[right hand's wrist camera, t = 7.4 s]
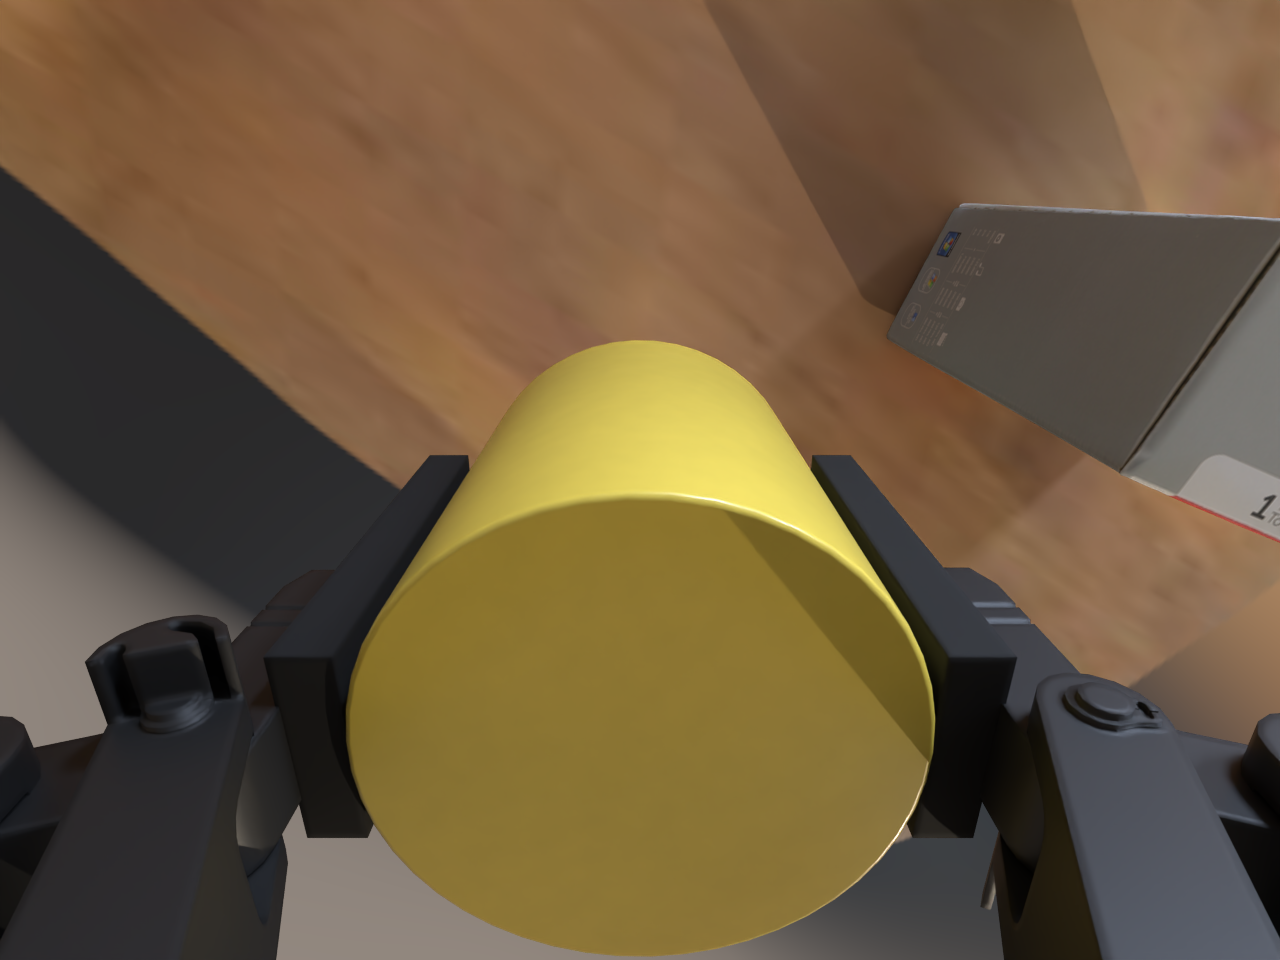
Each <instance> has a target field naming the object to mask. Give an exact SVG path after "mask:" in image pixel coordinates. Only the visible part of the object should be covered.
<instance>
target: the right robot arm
mask: <svg viewBox="0 0 1280 960" xmlns="http://www.w3.org/2000/svg"><path fill="white" fill-rule="evenodd" d="M469 471H470V470H469V460H468V455H430V456H429V457H428V458H427V459H426V461H425V462H424V463H423V464H422V466H421V467H420V468H419V469H418V470H417V472H416V473H415V474H414V475H413V476H412V478H411V479H410V480H409V481H408V482H407V484H406V485H405V486H404V487H403V489H402V490H401V491H400V492H399V493H398V495H397V496H396V497H395V498H394V499H393V501H392V502H391V503H390V504H389V505H388V507H387V508H386V509H385V510H384V512H383V513H382V514H381V515H380V516H379V518H378V519H377V520H376V521H375V522H374V524H373V525H372V526H371V527H370V528H369V530H368V531H367V532H366V533H365V535H364V536H363V537H362V538H361V539H360V541H359V542H358V543H357V544H356V545H355V547H354V548H353V549H352V550H351V551H350V553H349V554H348V555H347V556H346V558H345V559H344V560H343V561H342V562H341V564H340V565H339V566H338V567H337V568H336V570H311V571H309V572H308V573H306V574H304V575H303V576H301V577H299V578H298V579H296V580H294V581H292V582H291V583H289V584H287V585H286V586H284V587H283V588H282V589H281V590H280V591H279V592H278V593H277V594H276V596H275V597H274V598H273V599H272V600H271V601H270V602H269V603H268V604H267V605H266V610H262V611H261V612H260V613H259V614H258V615H257V616H256V617H255V618H254V619H253V620H252V622H251V626H250V627H246V628H245V629H244V630H243V631H242V632H241V633H240V635H239V636H238V637H237V638H236V639H235V640H234V641H233V642H232V643H231V639H230V635H229V631H228V628H227V625H226V624H224V623H223V622H222V621H220V620H219V619H217V618H215V617H208V616H202V615H188V616H176V617H170V618H166V619H162V620H158V621H154V622H150V623H146V624H144V625H141V626H139V627H136V628H134V629H131V630H129V631H126V632H124V633H122V634H120V635H118V636H116V637H115V638H113V639H112V640H110V641H108V642H107V643H105V644H103V645H102V646H100V647H99V648H98V649H97V650H96V651H95V652H94V653H93V654H92V655H91V656H90V657H89V658H88V659H87V660H86V661H85V664H86V666H87V669H88V672H89V675H90V677H91V680H92V683H93V686H94V688H95V691H96V694H97V697H98V700H99V702H100V705H101V708H102V711H103V713H104V716H105V719H106V722H107V724H108V725H107V727H106V729H105V731H104V733H103V734H98V735H94V736H89V737H84V738H79V739H74V740H69V741H65V742H60V743H55V744H50V745H45V746H40V747H36V748H33V745H32V743H31V740H30V738H29V736H28V733H27V731H26V728H25V726H24V724H22V723H21V722H19V721H18V720H16V719H14V718H13V717H4V716H0V960H276V956H277V948H278V940H279V932H280V923H281V915H282V907H283V899H284V891H285V882H286V874H287V866H288V861H287V854H286V848H285V844H284V840H283V836H282V833H283V831H284V830H285V828H286V826H287V824H288V823H289V821H290V819H291V817H292V816H293V814H294V812H295V810H296V809H297V807H298V805H299V806H300V810H301V814H302V818H303V822H304V826H305V830H306V834H307V838H368V836H369V833H370V831H371V829H372V827H373V824H374V823H373V821H372V820H371V818H370V816H369V814H368V812H367V810H366V808H365V806H364V804H363V802H362V800H361V798H360V795H359V792H358V789H357V786H356V783H355V780H354V778H353V775H352V772H351V766H350V761H349V755H348V749H347V743H346V703H347V697H348V691H349V685H350V679H351V674H352V671H353V669H354V666H355V663H356V660H357V657H358V654H359V651H360V648H361V646H362V643H363V642H364V640H365V638H366V636H367V634H368V632H369V631H370V629H371V627H372V625H373V623H374V621H375V620H376V618H377V616H378V614H379V613H380V611H381V609H382V608H383V606H384V605H385V603H386V602H387V600H388V598H389V597H390V595H391V594H392V592H393V591H394V589H395V587H396V586H397V584H398V583H399V581H400V579H401V578H402V576H403V575H404V573H405V572H406V570H407V568H408V567H409V565H410V564H411V562H412V561H413V559H414V557H415V556H416V554H417V553H418V551H419V549H420V548H421V546H422V545H423V543H424V542H425V540H426V538H427V537H428V535H429V534H430V532H431V531H432V529H433V527H434V526H435V524H436V523H437V521H438V519H439V518H440V516H441V515H442V513H443V512H444V510H445V508H446V507H447V505H448V504H449V502H450V501H451V499H452V497H453V496H454V494H455V493H456V491H457V489H458V488H459V486H460V485H461V483H462V482H463V480H464V478H465V477H466V475H467V474H468V472H469ZM811 472H812V473H813V475H814V476H815V478H816V480H817V481H818V483H819V484H820V486H821V487H822V489H823V491H824V492H825V494H826V495H827V497H828V498H829V500H830V502H831V503H832V505H833V506H834V508H835V509H836V511H837V513H838V514H839V516H840V517H841V519H842V521H843V522H844V524H845V525H846V527H847V528H848V530H849V532H850V533H851V535H852V536H853V538H854V539H855V541H856V543H857V544H858V546H859V547H860V549H861V550H862V552H863V554H864V555H865V557H866V558H867V560H868V562H869V563H870V565H871V566H872V568H873V569H874V571H875V573H876V574H877V576H878V577H879V579H880V580H881V582H882V584H883V585H884V587H885V588H886V590H887V591H888V593H889V595H890V596H891V598H892V599H893V601H894V603H895V604H896V606H897V607H898V609H899V610H900V612H901V614H902V615H903V617H904V618H905V620H906V621H907V623H908V625H909V626H910V629H911V631H912V633H913V635H914V637H915V639H916V641H917V643H918V646H919V648H920V650H921V652H922V654H923V656H924V660H925V664H926V667H927V671H928V674H929V678H930V681H931V685H932V692H933V701H934V711H935V731H934V746H933V755H932V759H931V763H930V768H929V772H928V776H927V781H926V783H925V786H924V788H923V791H922V793H921V796H920V798H919V801H918V803H917V806H916V808H915V810H914V812H913V814H912V815H911V817H910V819H909V820H908V822H907V825H908V828H909V830H910V832H911V835H912V837H913V838H973V836H974V832H975V828H976V824H977V820H978V816H979V812H980V808H981V804H982V802H983V804H984V806H985V808H986V809H987V811H988V813H989V815H990V816H991V818H992V820H993V822H994V823H995V825H996V827H997V829H998V830H999V832H998V837H997V840H996V844H995V848H994V851H993V855H992V859H991V863H990V867H989V870H988V874H987V878H986V882H985V886H984V889H983V894H982V901H981V907H983V908H986V909H989V910H990V909H991V906H992V902H993V899H994V895H995V894H996V896H997V905H998V913H999V921H1000V929H1001V938H1002V946H1003V954H1004V960H1280V713H1277V714H1269V715H1267V716H1266V717H1264V718H1263V719H1261V720H1260V721H1258V723H1257V725H1256V728H1255V730H1254V733H1253V735H1252V737H1251V740H1250V742H1249V744H1248V745H1246V744H1241V743H1236V742H1231V741H1226V740H1221V739H1216V738H1212V737H1207V736H1202V735H1197V734H1192V733H1187V732H1183V731H1179V730H1175V728H1174V726H1173V724H1172V723H1171V722H1170V720H1169V719H1168V718H1167V716H1166V715H1165V714H1164V713H1163V711H1162V710H1161V709H1160V708H1159V707H1158V706H1156V705H1155V704H1153V703H1152V702H1151V701H1149V700H1148V699H1146V698H1145V697H1144V696H1142V695H1141V694H1139V693H1138V692H1135V691H1133V690H1131V689H1129V688H1127V687H1125V686H1123V685H1121V684H1118V683H1116V682H1114V681H1110V680H1107V679H1103V678H1100V677H1096V676H1093V675H1088V674H1080V673H1079V672H1078V670H1077V669H1076V668H1075V667H1074V666H1073V665H1072V664H1071V663H1070V662H1069V661H1068V660H1067V659H1066V658H1065V657H1064V655H1063V654H1062V653H1061V652H1060V651H1059V650H1058V649H1057V648H1056V647H1055V646H1054V645H1053V644H1052V643H1051V641H1050V640H1049V639H1048V638H1047V637H1046V636H1045V635H1044V634H1043V633H1042V632H1041V631H1040V630H1039V629H1038V628H1037V626H1036V625H1035V624H1031V623H1030V619H1029V618H1028V617H1027V616H1026V615H1025V614H1024V612H1023V611H1022V610H1021V609H1020V608H1016V607H1015V603H1014V602H1013V601H1012V600H1011V599H1010V597H1009V596H1008V595H1007V594H1006V593H1005V592H1004V591H1003V590H1002V589H1001V588H1000V587H999V586H998V585H997V584H996V583H994V582H992V581H991V580H989V579H987V578H986V577H984V576H982V575H980V574H979V573H977V572H975V571H974V570H972V569H970V568H943V567H942V565H941V564H940V563H939V562H938V561H937V559H936V558H935V557H934V556H933V554H932V553H931V552H930V551H929V550H928V548H927V547H926V546H925V545H924V544H923V542H922V541H921V540H920V539H919V538H918V536H917V535H916V534H915V533H914V532H913V530H912V529H911V528H910V527H909V525H908V524H907V523H906V522H905V521H904V519H903V518H902V517H901V516H900V515H899V513H898V512H897V511H896V510H895V509H894V507H893V506H892V505H891V504H890V502H889V501H888V500H887V499H886V498H885V496H884V495H883V494H882V493H881V492H880V490H879V489H878V488H877V487H876V486H875V484H874V483H873V482H872V481H871V479H870V478H869V477H868V476H867V475H866V473H865V472H864V471H863V470H862V469H861V467H860V466H859V465H858V464H857V463H856V461H855V460H854V459H853V458H852V457H851V455H812V465H811Z"/></svg>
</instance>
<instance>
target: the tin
mask: <svg viewBox="0 0 1280 960" xmlns="http://www.w3.org/2000/svg"><path fill="white" fill-rule="evenodd" d="M934 731H935V711H934V701H933V692H932V685H931V681H930V678H929V674H928V671H927V667H926V664H925V660H924V656H923V654H922V652H921V650H920V648H919V646H918V643H917V641H916V639H915V637H914V635H913V633H912V631H911V629H910V626H909V625H908V623H907V621H906V620H905V618H904V617H903V615H902V614H901V612H900V610H899V609H898V607H897V606H896V604H895V603H894V601H893V599H892V598H891V596H890V595H889V593H888V591H887V590H886V588H885V587H884V585H883V584H882V582H881V580H880V579H879V577H878V576H877V574H876V573H875V571H874V569H873V568H872V566H871V565H870V563H869V562H868V560H867V558H866V557H865V555H864V554H863V552H862V550H861V549H860V547H859V546H858V544H857V543H856V541H855V539H854V538H853V536H852V535H851V533H850V532H849V530H848V528H847V527H846V525H845V524H844V522H843V521H842V519H841V517H840V516H839V514H838V513H837V511H836V509H835V508H834V506H833V505H832V503H831V502H830V500H829V498H828V497H827V495H826V494H825V492H824V491H823V489H822V487H821V486H820V484H819V483H818V481H817V480H816V478H815V476H814V475H813V473H812V472H811V470H810V468H809V467H808V465H807V464H806V462H805V461H804V459H803V457H802V456H801V454H800V453H799V451H798V450H797V448H796V446H795V445H794V443H793V442H792V440H791V439H790V437H789V435H788V434H787V432H786V431H785V429H784V427H783V426H782V424H781V423H780V421H779V420H778V418H777V416H776V415H775V413H774V412H773V410H772V409H771V408H770V406H769V405H768V403H767V402H766V400H765V399H764V398H763V396H762V395H761V394H760V393H759V392H758V391H757V390H756V389H755V388H754V387H753V386H752V384H751V383H749V382H748V381H747V380H746V379H745V378H743V377H742V376H741V375H740V374H739V373H737V372H736V371H735V370H733V369H732V368H730V367H729V366H727V365H725V364H724V363H722V362H721V361H719V360H717V359H715V358H713V357H711V356H709V355H706V354H704V353H702V352H700V351H697V350H694V349H691V348H687V347H684V346H681V345H677V344H672V343H665V342H659V341H638V340H632V341H623V342H614V343H608V344H604V345H600V346H596V347H592V348H589V349H586V350H584V351H581V352H579V353H576V354H574V355H571V356H569V357H567V358H565V359H564V360H562V361H560V362H558V363H556V364H555V365H553V366H551V367H550V368H549V369H547V370H546V371H545V372H543V373H542V374H541V375H539V376H538V377H537V378H535V379H534V380H533V381H532V382H531V383H530V384H529V385H528V386H527V387H526V388H525V389H524V390H523V391H522V392H521V393H520V394H519V396H518V397H517V398H516V400H515V401H514V402H513V404H512V405H511V406H510V408H509V409H508V411H507V412H506V414H505V415H504V417H503V418H502V420H501V422H500V423H499V425H498V426H497V428H496V430H495V431H494V433H493V434H492V436H491V437H490V439H489V441H488V442H487V444H486V445H485V447H484V448H483V450H482V452H481V453H480V455H479V456H478V458H477V460H476V461H475V463H474V464H473V466H472V467H471V469H470V471H469V472H468V474H467V475H466V477H465V478H464V480H463V482H462V483H461V485H460V486H459V488H458V489H457V491H456V493H455V494H454V496H453V497H452V499H451V501H450V502H449V504H448V505H447V507H446V508H445V510H444V512H443V513H442V515H441V516H440V518H439V519H438V521H437V523H436V524H435V526H434V527H433V529H432V531H431V532H430V534H429V535H428V537H427V538H426V540H425V542H424V543H423V545H422V546H421V548H420V549H419V551H418V553H417V554H416V556H415V557H414V559H413V561H412V562H411V564H410V565H409V567H408V568H407V570H406V572H405V573H404V575H403V576H402V578H401V579H400V581H399V583H398V584H397V586H396V587H395V589H394V591H393V592H392V594H391V595H390V597H389V598H388V600H387V602H386V603H385V605H384V606H383V608H382V609H381V611H380V613H379V614H378V616H377V618H376V620H375V621H374V623H373V625H372V627H371V629H370V631H369V632H368V634H367V636H366V638H365V640H364V642H363V643H362V646H361V648H360V651H359V654H358V657H357V660H356V663H355V666H354V669H353V671H352V674H351V679H350V685H349V691H348V697H347V703H346V743H347V749H348V755H349V761H350V766H351V772H352V775H353V778H354V780H355V783H356V786H357V789H358V792H359V795H360V798H361V800H362V802H363V804H364V806H365V808H366V810H367V812H368V814H369V816H370V818H371V820H372V821H373V823H374V825H375V827H376V828H377V830H378V831H379V832H380V834H381V835H382V837H383V838H384V839H385V841H386V842H387V844H388V845H389V846H390V848H391V849H392V851H393V852H394V853H395V854H396V855H397V856H398V857H399V858H400V859H401V860H402V861H403V862H404V863H405V864H406V865H407V867H408V868H409V869H410V870H411V871H412V872H413V873H414V874H415V875H416V876H418V877H419V878H420V879H421V880H422V881H424V882H425V883H426V884H427V885H428V886H429V887H431V888H432V889H433V890H434V891H435V892H437V893H438V894H439V895H441V896H443V897H444V898H445V899H447V900H449V901H450V902H452V903H453V904H455V905H456V906H458V907H459V908H461V909H462V910H464V911H466V912H468V913H469V914H471V915H473V916H475V917H477V918H479V919H481V920H483V921H485V922H487V923H489V924H491V925H493V926H495V927H498V928H500V929H503V930H505V931H508V932H510V933H513V934H515V935H518V936H520V937H523V938H527V939H530V940H534V941H537V942H540V943H544V944H547V945H550V946H554V947H560V948H564V949H570V950H575V951H580V952H585V953H594V954H604V955H614V956H664V955H678V954H687V953H694V952H700V951H706V950H712V949H717V948H721V947H725V946H729V945H733V944H737V943H741V942H745V941H748V940H751V939H754V938H757V937H759V936H762V935H765V934H768V933H770V932H773V931H776V930H779V929H781V928H783V927H785V926H787V925H789V924H791V923H793V922H795V921H798V920H800V919H802V918H804V917H806V916H808V915H810V914H811V913H813V912H814V911H816V910H818V909H819V908H821V907H823V906H824V905H826V904H828V903H829V902H831V901H833V900H834V899H835V898H837V897H838V896H839V895H841V894H842V893H843V892H845V891H846V890H847V889H849V888H850V887H851V886H852V885H854V884H855V883H856V882H858V881H859V880H860V879H861V878H862V877H863V876H864V875H865V874H866V873H867V872H868V871H869V870H870V869H871V868H872V867H873V866H874V865H875V864H876V863H877V862H878V861H879V860H880V859H881V858H882V857H883V856H884V854H885V853H886V852H887V851H888V849H889V848H890V847H891V846H892V844H893V843H894V842H895V841H896V839H897V838H898V837H899V835H900V834H901V832H902V830H903V829H904V827H905V825H906V824H907V822H908V820H909V819H910V817H911V815H912V814H913V812H914V810H915V808H916V806H917V803H918V801H919V798H920V796H921V793H922V791H923V788H924V786H925V783H926V781H927V776H928V772H929V768H930V763H931V759H932V755H933V746H934Z"/></svg>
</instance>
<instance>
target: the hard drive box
mask: <svg viewBox="0 0 1280 960" xmlns="http://www.w3.org/2000/svg"><path fill="white" fill-rule="evenodd" d="M887 339H889V340H890V341H892V342H893V343H895V344H897V345H898V346H900V347H902V348H903V349H905V350H907V351H908V352H910V353H912V354H913V355H915V356H917V357H919V358H920V359H922V360H924V361H925V362H927V363H929V364H931V365H932V366H934V367H936V368H938V369H939V370H941V371H943V372H945V373H947V374H948V375H950V376H952V377H954V378H956V379H957V380H959V381H961V382H963V383H965V384H966V385H968V386H970V387H972V388H973V389H975V390H977V391H979V392H981V393H982V394H984V395H986V396H988V397H989V398H991V399H993V400H995V401H997V402H998V403H1000V404H1002V405H1004V406H1005V407H1007V408H1009V409H1011V410H1012V411H1014V412H1016V413H1018V414H1019V415H1021V416H1023V417H1025V418H1026V419H1028V420H1030V421H1032V422H1033V423H1035V424H1037V425H1039V426H1040V427H1042V428H1044V429H1045V430H1047V431H1049V432H1051V433H1052V434H1054V435H1056V436H1057V437H1059V438H1061V439H1063V440H1064V441H1066V442H1068V443H1070V444H1071V445H1073V446H1075V447H1076V448H1078V449H1080V450H1082V451H1083V452H1085V453H1087V454H1089V455H1090V456H1092V457H1094V458H1095V459H1097V460H1099V461H1100V462H1102V463H1104V464H1106V465H1107V466H1109V467H1111V468H1112V469H1114V470H1116V471H1117V472H1119V473H1120V475H1122V476H1126V477H1128V478H1130V479H1132V480H1134V481H1136V482H1138V483H1141V484H1143V485H1145V486H1148V487H1150V488H1153V489H1155V490H1157V491H1160V492H1162V493H1164V494H1166V495H1168V496H1170V497H1173V498H1175V499H1177V500H1180V501H1182V502H1184V503H1187V504H1189V505H1191V506H1194V507H1196V508H1199V509H1201V510H1203V511H1206V512H1208V513H1210V514H1213V515H1215V516H1218V517H1220V518H1222V519H1225V520H1227V521H1229V522H1231V523H1234V524H1236V525H1238V526H1240V527H1243V528H1245V529H1248V530H1250V531H1253V532H1255V533H1258V534H1260V535H1262V536H1265V537H1267V538H1270V539H1272V540H1275V541H1277V542H1280V218H1260V217H1245V216H1223V215H1198V214H1176V213H1154V212H1132V211H1112V210H1093V209H1073V208H1052V207H1034V206H1012V205H995V204H961V205H960V207H959V208H955V209H954V210H953V212H952V214H951V215H950V217H949V219H948V221H947V223H946V224H945V226H944V228H943V230H942V232H941V234H940V235H939V237H938V239H937V241H936V243H935V245H934V246H933V248H932V250H931V252H930V254H929V256H928V258H927V259H926V261H925V263H924V265H923V267H922V269H921V271H920V273H919V275H918V276H917V278H916V280H915V282H914V284H913V286H912V288H911V289H910V291H909V293H908V295H907V297H906V299H905V301H904V302H903V304H902V306H901V308H900V310H899V312H898V314H897V316H896V318H895V319H894V321H893V323H892V325H891V327H890V329H889V331H888V333H887Z"/></svg>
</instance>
